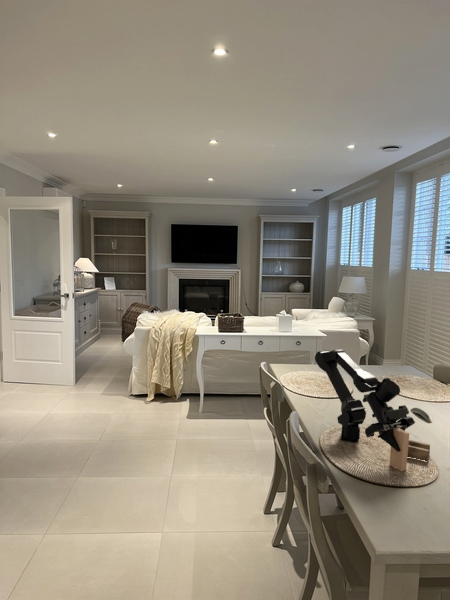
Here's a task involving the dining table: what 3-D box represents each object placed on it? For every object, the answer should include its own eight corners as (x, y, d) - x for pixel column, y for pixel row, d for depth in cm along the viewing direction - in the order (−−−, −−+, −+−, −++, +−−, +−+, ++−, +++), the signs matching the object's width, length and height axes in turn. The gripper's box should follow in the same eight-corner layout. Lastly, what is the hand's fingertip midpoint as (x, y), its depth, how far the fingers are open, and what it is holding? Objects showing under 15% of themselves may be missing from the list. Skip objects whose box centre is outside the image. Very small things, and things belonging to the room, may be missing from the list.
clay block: (389, 464, 144) (392, 428, 143) (394, 463, 145) (397, 427, 144) (401, 471, 139) (404, 434, 138) (406, 470, 140) (409, 433, 139)
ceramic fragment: (409, 411, 196) (410, 403, 195) (419, 411, 196) (420, 403, 196) (427, 424, 182) (428, 415, 181) (438, 423, 183) (439, 415, 182)
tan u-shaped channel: (394, 454, 151) (394, 444, 151) (397, 446, 158) (398, 436, 158) (427, 462, 146) (428, 452, 145) (429, 453, 153) (430, 443, 152)
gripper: (372, 401, 139) (396, 446, 131) (412, 394, 147) (437, 436, 138) (355, 415, 147) (376, 459, 139) (393, 408, 155) (416, 449, 146)
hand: (402, 450), depth 140 cm, fingers closed on clay block, 3 cm apart
